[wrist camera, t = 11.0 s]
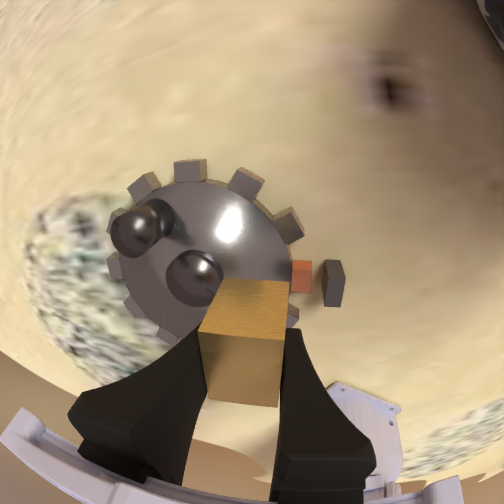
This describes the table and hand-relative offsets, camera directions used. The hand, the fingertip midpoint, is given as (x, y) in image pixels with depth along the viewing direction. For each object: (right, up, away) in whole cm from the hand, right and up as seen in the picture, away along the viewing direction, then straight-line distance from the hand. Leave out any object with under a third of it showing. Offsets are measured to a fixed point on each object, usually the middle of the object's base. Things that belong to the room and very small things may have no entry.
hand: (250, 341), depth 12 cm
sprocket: (-3, +3, +7) cm, 8 cm away
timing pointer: (+5, +3, +6) cm, 8 cm away
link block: (0, +1, +1) cm, 2 cm away
